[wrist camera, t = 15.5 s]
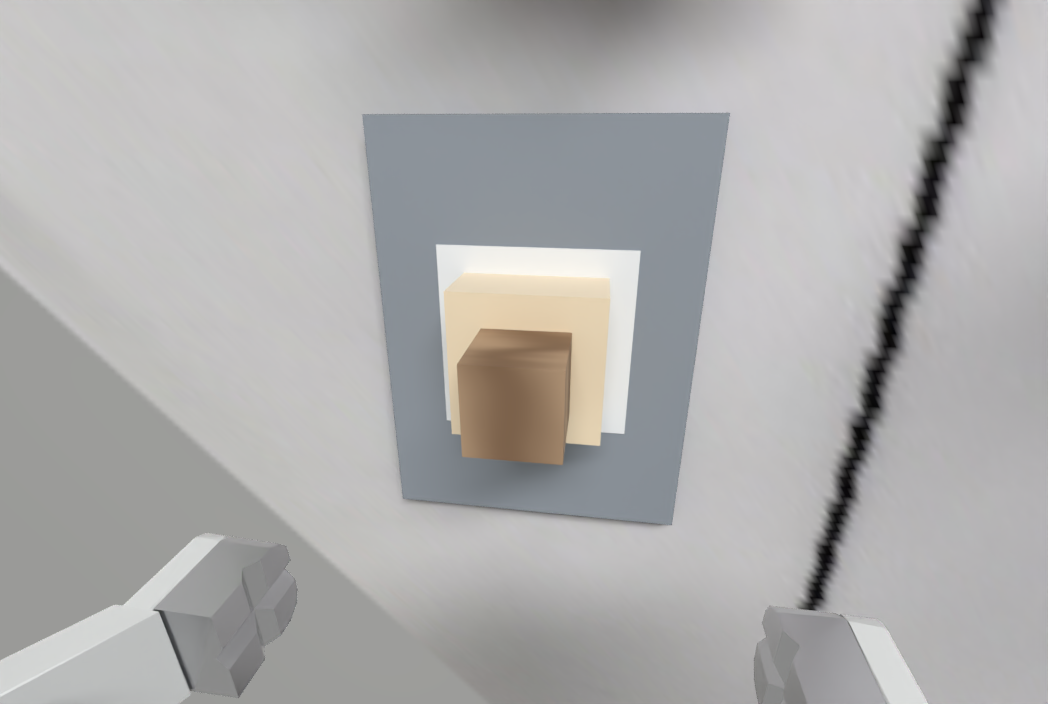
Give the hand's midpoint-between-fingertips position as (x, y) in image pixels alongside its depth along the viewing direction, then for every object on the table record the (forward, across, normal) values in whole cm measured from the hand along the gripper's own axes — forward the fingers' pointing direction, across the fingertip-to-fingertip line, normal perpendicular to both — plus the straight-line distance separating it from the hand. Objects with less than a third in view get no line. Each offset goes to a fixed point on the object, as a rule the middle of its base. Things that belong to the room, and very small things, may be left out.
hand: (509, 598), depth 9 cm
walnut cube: (+17, +2, +4) cm, 17 cm away
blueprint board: (+22, +3, +4) cm, 22 cm away
